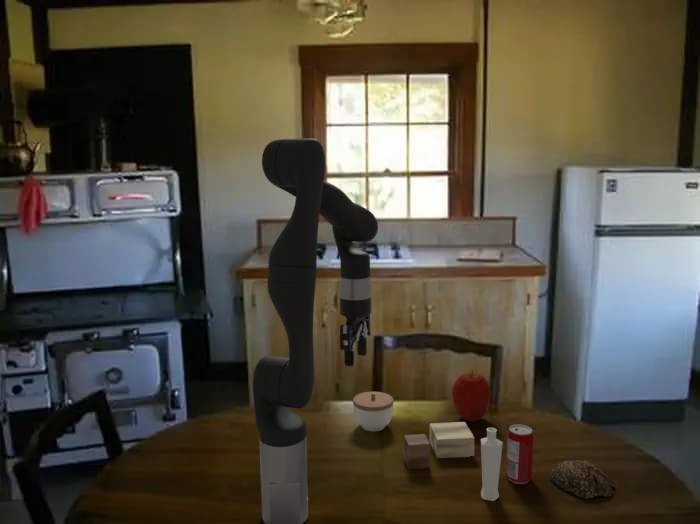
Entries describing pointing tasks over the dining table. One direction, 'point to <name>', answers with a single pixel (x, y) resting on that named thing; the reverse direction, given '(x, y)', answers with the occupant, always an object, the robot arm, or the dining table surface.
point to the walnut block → (416, 451)
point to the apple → (471, 396)
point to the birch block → (451, 440)
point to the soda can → (519, 454)
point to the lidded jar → (373, 410)
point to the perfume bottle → (490, 464)
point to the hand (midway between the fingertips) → (355, 360)
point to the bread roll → (581, 479)
